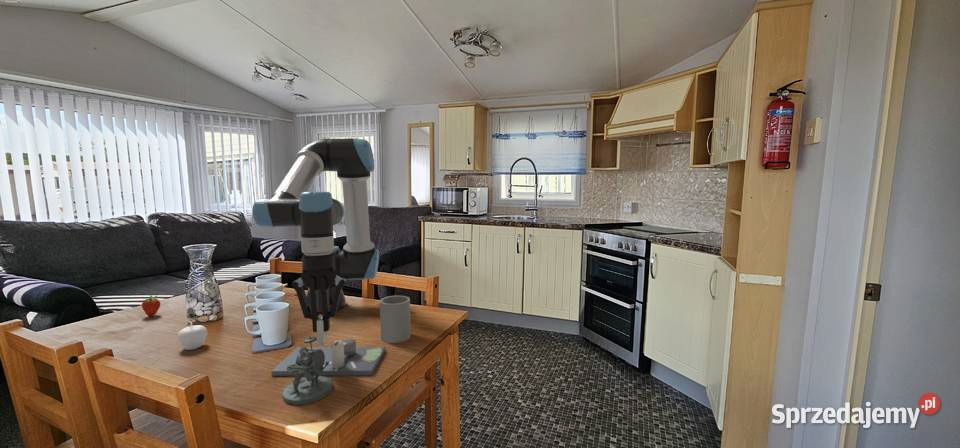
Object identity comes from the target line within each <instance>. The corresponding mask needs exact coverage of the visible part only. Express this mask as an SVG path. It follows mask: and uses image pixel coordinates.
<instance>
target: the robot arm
mask: <svg viewBox="0 0 960 448" xmlns="http://www.w3.org/2000/svg"><path fill="white" fill-rule="evenodd" d="M374 171H375V159H374V153H373V148H372V146H371V144H370V142H369V141H368V140H367V139H365V138H331V137H329V138H327V137H325V138H320V139H316V140H313V141H312V142H310V143H308V144H306V145H305V146H303V147H302V148H301V149H299V151H297V153H296V154H295V156H294V158H293V165H292V166H291V167H290V169H289V170H288V172H287V173H286V175H285V176H284V177H283V179H282V181H280V183H279V185H278V186H277V188H276V189H275V191H274V192H273V194H272V195H271V196H270V198H259V199H256V200H255V201H254V203H253V205H252V208H251V209H252V210H251V213H252V215H251V216H252V218H253V221H254V222H255V224H256V226H257V225H258V226H259V227H271V228H274V227H275V228H276V227H279V228H280V227H300V241H301V242H300V243H301V252H302V253H303V254H302V256H301V269H302V272H301V274H300V277H299V278H298V279H295V280H294V281H292V283H291V284H290V285H291V287H292V288H293V289H294V291H295V293H296V295H297V299H298V301H299V305H300V308H301V311H302V314H303V318H304V319H305V320H306V319H310V320H311V321H312V322H311V323H312V324H311V325H312V332H313V333H316V337H317V340H316V341H317V342H316V343H317V347H324V346H325V344H326V342H327V333H326V332H329V330H330V327H331V325H330V319H331V318H334V317H335V316H336V314H337V312H338V310H340V309H341V310H342V309H343V308H344V307H346V305H347V302H346V300H347V299H346V297H345V294H344V291H343V287H344V285H345V283H346V281H348V280H349V281H351V280H352V281H355V280H356V281H359V280H363V281H364V280H373V279H374V278H376V276H377V274H378V268H379V263H380V262H379V261H380V250H379V249H377V248H376V247H375V243H373V242H372V241H371V234H370V233H371V231H370V216H369V198H368V185H367V184H368V183H367V181H368V180H369V178H370V177H371V173H372V172H374ZM324 172H336V176H337V178H338V179H339V180H340V181H341V184H342V185H341V186H342V195H343V197H342V198H343V203H342V202H341V201H339V200H338V199H336V198H334V197H332V193H331V192H330V191H309V190H310V188H311V186H312V184H313V182H314V180H315V178H316V177H317V176H320V175H321V174H322V173H324ZM343 218H344V220H345V224H344V225H345V234H346V243H345V244H344V245H343V248H342V249H341V250H340V247H339V246H337V245H335V242H334V241H335V239H334V226H335V225H337V224H338V223H340V222H341V220H342V219H343ZM375 248H376V249H375ZM304 285H306V286H307V292H306V291H305V288H304ZM321 313H322V314H321ZM320 314H321V315H322V316H321V317H320Z"/></svg>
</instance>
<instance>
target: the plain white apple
mask: <svg viewBox="0 0 960 448" xmlns="http://www.w3.org/2000/svg"><path fill="white" fill-rule="evenodd" d="M207 337H208V330H207V328H206V327H205V326H204V325H201V324H198V325H196V324H195V325H194V324H193V321H190V326H189V325H188V326H186V327H184V328H182V329H181V330H180V331H179V332H178V334H177V341H178V343H179V344H180V346H182V349H184V350H186V351H191V350H196V349H198V348H201V347H202V346H203V345H204V343H205V340H207Z"/></svg>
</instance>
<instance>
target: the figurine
mask: <svg viewBox="0 0 960 448" xmlns="http://www.w3.org/2000/svg"><path fill="white" fill-rule="evenodd" d="M315 341H317V336H311V335H310V336H309V337H307V338H305V339H303V343H304V344H310V345H309V346H310V347H311V350H308V349H307V348H306V346H302V348H301V349H300V350H299V352H300V354H299V355H298V356H297V359H296V363H295V364H292V365H289V366H288V367H287V368H286V369H287V372H288V373H297V374H296V376H294V378H293V380H292V382H290V383H289V384H288V385H286V386H285V387H284V388H283V390H282V393H281V394H282V395H281V396H282V400H283V401H284V402H285V403H286V404H289V405H296V406H298V405H300V406H301V405H307V404H311V403H315V402H318V401H320V400H323V399H324V398H325V397H327V396H328V395H330V394H331V392H332V391H333V389H334V383H333V380H332V379H331V378H329V377H328V376H325V375H318V373H317V372H321V371H322V372H324V371H323V369H324V368H325V367H326V366H327V365H328V364H329V362H326V363H325V366H324V362H325V355H324V352H323V351H322V350H321V349H317V350H313V349H312V347H313V345H312V343H313V342H315ZM323 366H324V367H323ZM313 374H317V375H316V376H314V375H313Z"/></svg>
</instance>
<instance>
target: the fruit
mask: <svg viewBox="0 0 960 448" xmlns="http://www.w3.org/2000/svg"><path fill="white" fill-rule="evenodd" d="M141 307H142V310H143V312H144V313H145V314H146V316H147V317H153V316H155V315H156V314H157V313H158V311H159V310H160V307H161V301H160V300H159V299H158V295H155V296H153V295H151V294H150V297H144V299H142V302H141Z"/></svg>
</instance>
